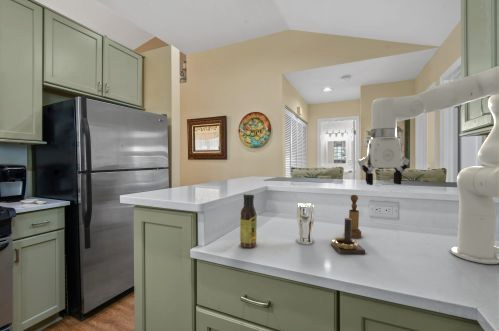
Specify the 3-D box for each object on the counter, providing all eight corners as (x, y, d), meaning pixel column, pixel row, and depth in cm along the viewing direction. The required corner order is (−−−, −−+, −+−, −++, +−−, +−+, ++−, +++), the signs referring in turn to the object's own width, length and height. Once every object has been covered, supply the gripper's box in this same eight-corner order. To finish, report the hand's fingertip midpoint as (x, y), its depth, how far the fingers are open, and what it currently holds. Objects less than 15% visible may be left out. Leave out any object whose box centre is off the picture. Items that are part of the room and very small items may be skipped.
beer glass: (293, 242, 98) (294, 205, 97) (298, 237, 104) (299, 202, 103) (311, 246, 95) (312, 207, 94) (315, 240, 101) (316, 204, 100)
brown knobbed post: (364, 238, 104) (365, 196, 103) (348, 238, 104) (349, 196, 103) (357, 233, 110) (358, 193, 109) (342, 233, 110) (344, 193, 110)
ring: (351, 240, 97) (351, 236, 96) (363, 250, 87) (363, 245, 87) (328, 240, 96) (328, 236, 96) (337, 250, 87) (337, 245, 87)
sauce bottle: (254, 249, 91) (255, 196, 90) (238, 247, 92) (238, 195, 91) (257, 243, 98) (258, 193, 97) (242, 241, 99) (242, 192, 98)
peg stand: (353, 244, 96) (354, 215, 96) (365, 254, 88) (366, 222, 87) (331, 244, 96) (331, 215, 96) (340, 254, 87) (341, 222, 87)
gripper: (364, 134, 81) (363, 186, 81) (416, 133, 81) (415, 185, 82) (353, 136, 88) (353, 183, 89) (401, 135, 88) (401, 182, 89)
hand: (383, 184), depth 85 cm, fingers open, 9 cm apart
